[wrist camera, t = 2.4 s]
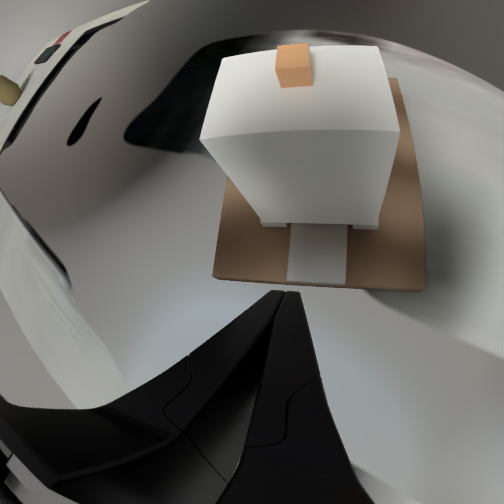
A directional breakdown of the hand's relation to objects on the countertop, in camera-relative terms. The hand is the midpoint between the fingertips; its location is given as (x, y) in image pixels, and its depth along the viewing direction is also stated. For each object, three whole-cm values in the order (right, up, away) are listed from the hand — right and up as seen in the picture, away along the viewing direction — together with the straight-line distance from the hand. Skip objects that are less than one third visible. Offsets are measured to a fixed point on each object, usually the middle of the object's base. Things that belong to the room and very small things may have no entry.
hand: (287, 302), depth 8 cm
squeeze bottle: (-79, +52, +51) cm, 108 cm away
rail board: (+4, +8, +12) cm, 15 cm away
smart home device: (-76, +74, +56) cm, 120 cm away
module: (+3, +5, +10) cm, 12 cm away
